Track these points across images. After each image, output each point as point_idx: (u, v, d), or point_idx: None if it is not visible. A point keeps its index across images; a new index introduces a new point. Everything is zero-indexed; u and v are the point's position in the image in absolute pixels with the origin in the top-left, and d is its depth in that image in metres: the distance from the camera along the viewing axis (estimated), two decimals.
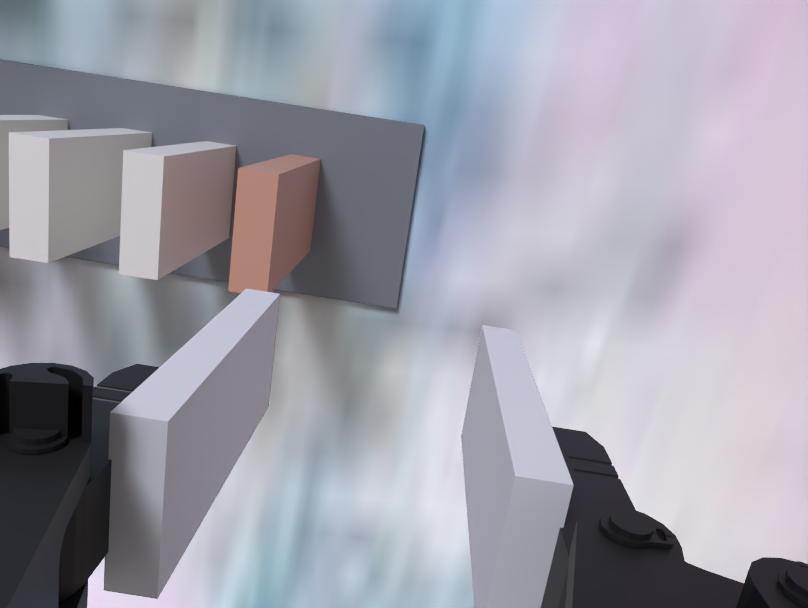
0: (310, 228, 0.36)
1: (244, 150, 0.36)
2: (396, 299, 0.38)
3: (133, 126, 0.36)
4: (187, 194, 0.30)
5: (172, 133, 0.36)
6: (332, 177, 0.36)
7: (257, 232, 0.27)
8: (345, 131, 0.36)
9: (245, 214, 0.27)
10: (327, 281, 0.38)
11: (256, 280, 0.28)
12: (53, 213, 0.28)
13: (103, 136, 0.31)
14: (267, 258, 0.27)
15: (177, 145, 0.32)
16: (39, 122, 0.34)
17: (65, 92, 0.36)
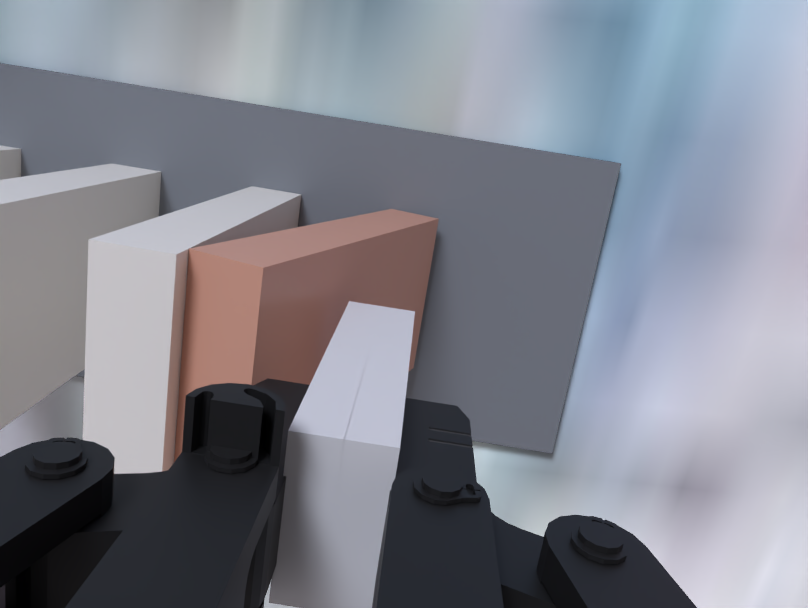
0: None
1: (314, 202, 0.22)
2: (553, 439, 0.24)
3: (131, 162, 0.22)
4: None
5: (195, 173, 0.22)
6: (460, 247, 0.22)
7: (223, 382, 0.13)
8: (486, 172, 0.21)
9: (201, 343, 0.13)
10: None
11: None
12: None
13: (73, 191, 0.17)
14: None
15: (204, 205, 0.17)
16: None
17: (17, 103, 0.21)
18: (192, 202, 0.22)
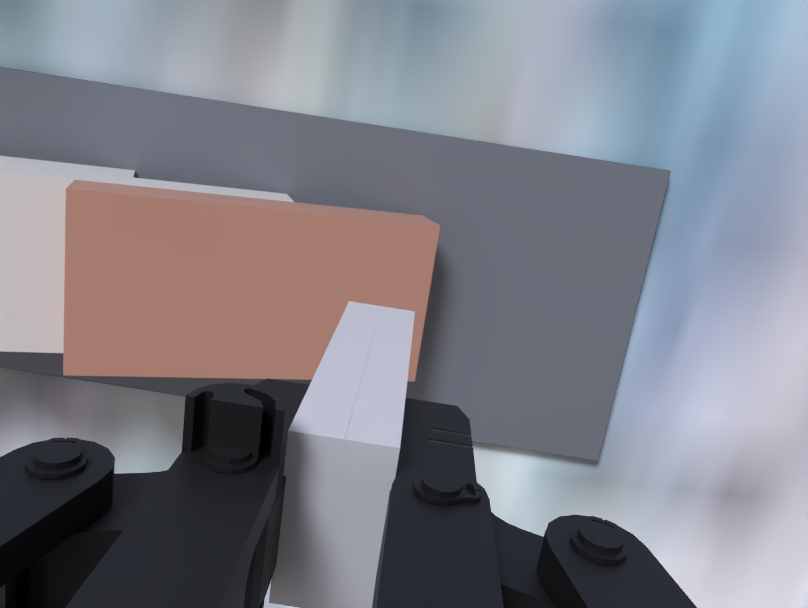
0: None
1: None
2: (598, 447, 0.24)
3: (178, 172, 0.22)
4: (26, 241, 0.18)
5: (243, 183, 0.22)
6: (507, 255, 0.22)
7: None
8: (535, 180, 0.21)
9: None
10: (488, 418, 0.23)
11: None
12: None
13: None
14: (64, 317, 0.18)
15: (123, 177, 0.20)
16: None
17: (65, 115, 0.21)
18: None
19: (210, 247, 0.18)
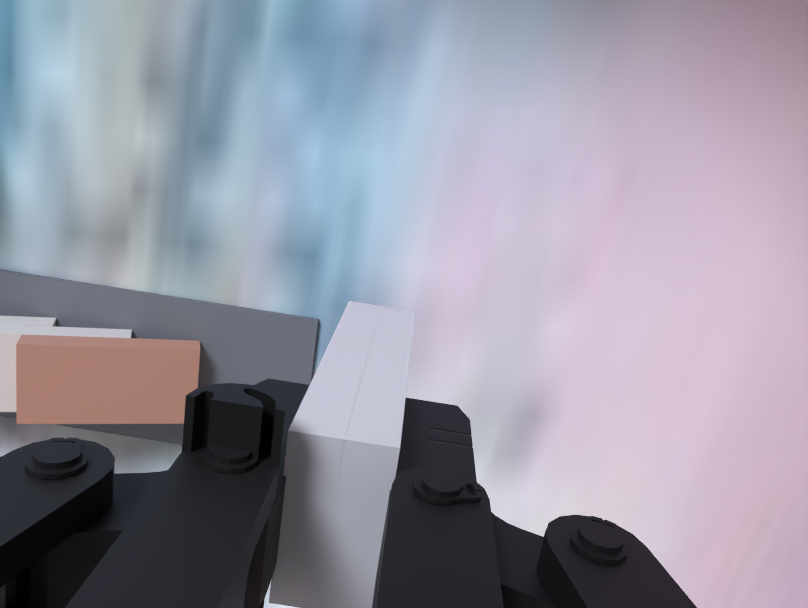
0: (182, 403, 0.43)
1: (170, 338, 0.44)
2: None
3: (77, 318, 0.44)
4: None
5: (110, 324, 0.43)
6: (243, 359, 0.44)
7: None
8: (253, 324, 0.43)
9: None
10: None
11: None
12: None
13: None
14: (16, 398, 0.40)
15: (47, 327, 0.42)
16: None
17: (21, 291, 0.43)
18: None
19: (84, 365, 0.40)
